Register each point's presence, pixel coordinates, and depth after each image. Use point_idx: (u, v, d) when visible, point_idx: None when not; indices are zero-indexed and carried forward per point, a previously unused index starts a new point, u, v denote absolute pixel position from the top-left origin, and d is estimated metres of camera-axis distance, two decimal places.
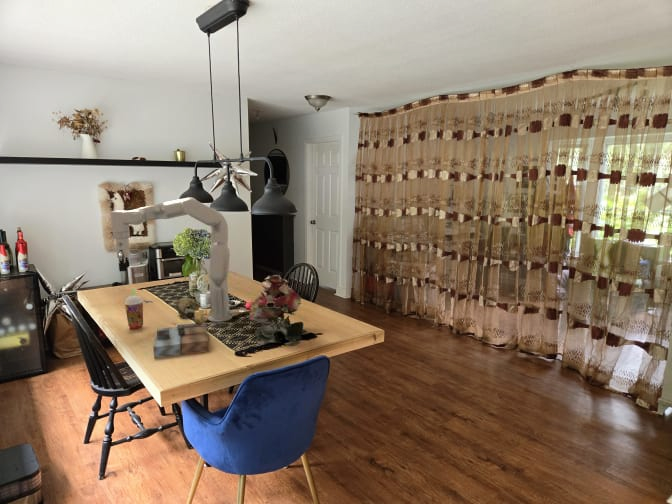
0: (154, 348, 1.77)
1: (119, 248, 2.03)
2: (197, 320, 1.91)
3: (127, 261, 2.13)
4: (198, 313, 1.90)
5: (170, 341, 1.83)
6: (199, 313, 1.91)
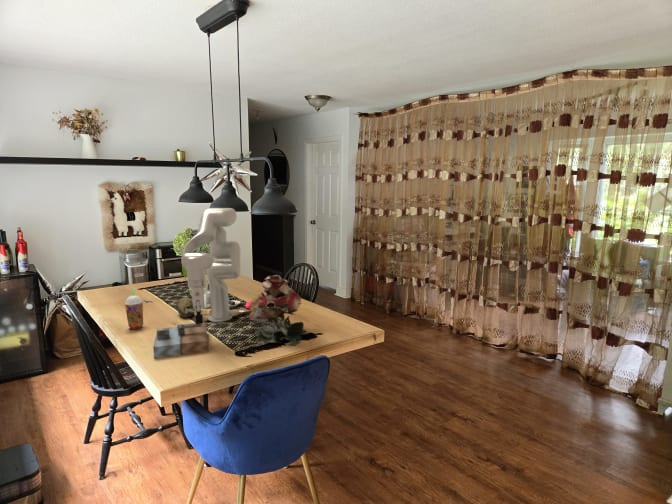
0: (154, 348, 1.77)
1: (196, 298, 1.86)
2: None
3: None
4: None
5: (170, 341, 1.83)
6: None
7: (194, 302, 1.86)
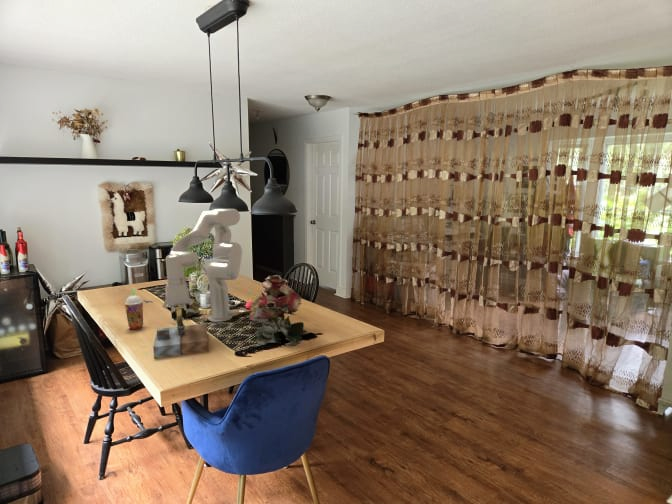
0: (154, 348, 1.77)
1: (188, 292, 1.97)
2: (182, 316, 1.97)
3: None
4: (182, 309, 1.97)
5: (170, 341, 1.83)
6: None
7: None
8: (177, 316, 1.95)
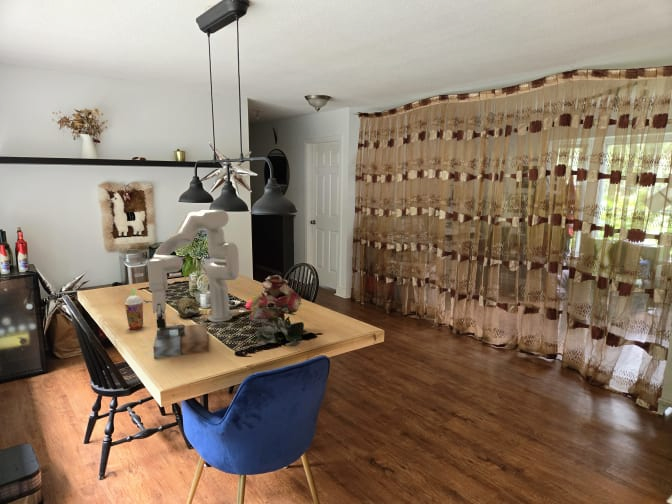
0: (154, 348, 1.77)
1: None
2: None
3: None
4: None
5: (170, 341, 1.83)
6: None
7: None
8: (165, 322, 1.87)
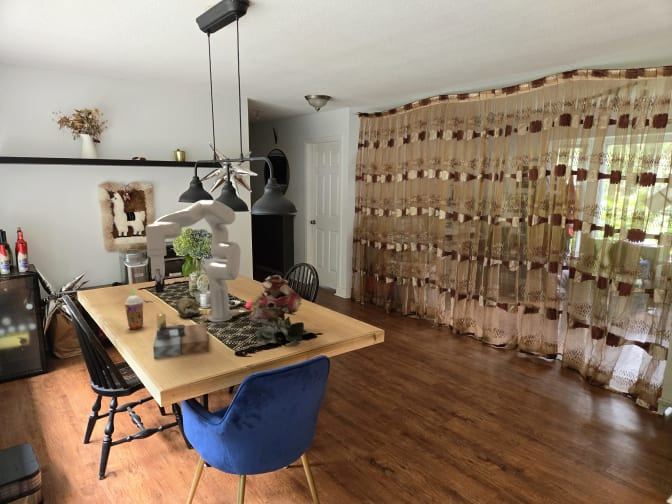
0: (154, 348, 1.77)
1: None
2: None
3: None
4: None
5: (170, 341, 1.83)
6: None
7: None
8: (165, 322, 1.87)
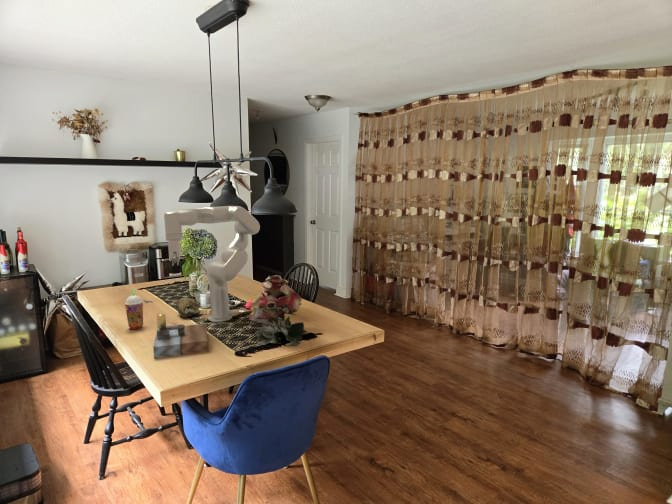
0: (154, 348, 1.77)
1: None
2: None
3: None
4: None
5: (170, 341, 1.83)
6: None
7: None
8: (165, 322, 1.87)
